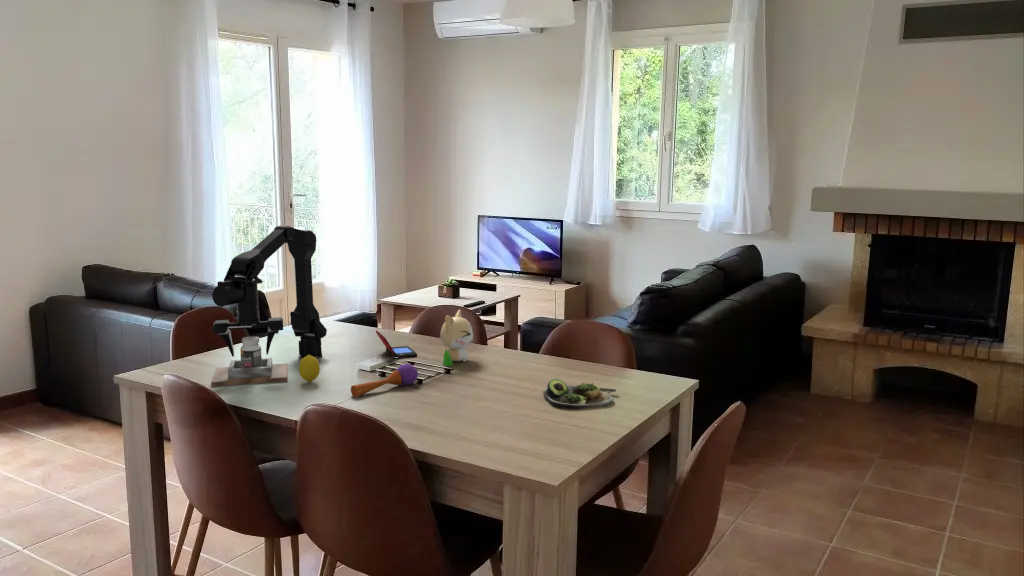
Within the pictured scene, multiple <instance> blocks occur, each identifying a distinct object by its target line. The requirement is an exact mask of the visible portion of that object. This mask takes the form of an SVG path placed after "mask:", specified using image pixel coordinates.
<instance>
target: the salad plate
mask: <svg viewBox="0 0 1024 576" xmlns="http://www.w3.org/2000/svg"><path fill="white" fill-rule="evenodd" d="M599 386H600V384H597V385H594V383H585V382H581V384H578V385H567V384H566V383H565V382H564V381H562V380H560V379H559V378H554V379H551V380H549V381H548V384H547V385H546V387H547V388H544V390H543V392H542V394H543V397H544V399H545V400H546V401H547V403H548V404H550V406H553V407H556V408H557V409H558V408H559V409H566V410H571V409H572V410H578V409H589V408H596V407H597V408H598V407H601V406H607V405H609V404H610V403H611V402H613V401H614V398H613V396H612V395H610V393H615V392H616V391H617V389H616V388H608V387H599ZM591 401H599V402H595V403H586V402H591Z"/></svg>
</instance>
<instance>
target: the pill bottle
mask: <svg viewBox="0 0 1024 576" xmlns="http://www.w3.org/2000/svg"><path fill="white" fill-rule="evenodd" d="M259 343H260V337H259V336H254V335H253V336H252V335H251V336H245V337H244V336H243V337H242V338H241V344H242V345H241V347H240V351H239V352H240V360H241V368H253V367H262V346H261V345H260V344H259Z"/></svg>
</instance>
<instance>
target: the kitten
mask: <svg viewBox="0 0 1024 576" xmlns="http://www.w3.org/2000/svg"><path fill="white" fill-rule="evenodd" d="M444 320H445V322H444V323H443V324H442V325H441V329H440V335H439V336H440V340H441V343H442V344H443V345H444V346H445V347H447V348H446V349H445V351H444V354H443V359H442V364H443V366H445V367H452V366H453V362H461V361H462V362H463V363H466V362H467V361H468V360H469V353H468V352H467V350H466V348H467V347H468V346H469V345H470V344H471V343H472V341H473V338H474V333H475V331H474V328H473V327H472V325H471V323H470V322H469V321H468V320H467V319H466V318H465V317H462V311H461V309H458V310H457V312H455V316H452V317H451V316H450V315H448V314H447V315H446V316H445V318H444Z"/></svg>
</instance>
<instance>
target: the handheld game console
mask: <svg viewBox="0 0 1024 576" xmlns="http://www.w3.org/2000/svg"><path fill="white" fill-rule="evenodd" d="M375 333H376V334H377V336H378V338H379V339H380V340H381V342H382V343H383V345H384V346H385V351H386V352H387V353H388V354H390V355H391V357H393V356H394V357H398V359H407V358H408V359H409V358H415V357H418V353H417V352H416V351H415V350H413V349H412V348H411V347H410V346H409V345H404V346H403V345H402V346H393V347H392V345H390V342H389V341H388V340H387V338H386V337H385V336H384V335H383V334H382V333H380V332H379V331H378V330H375ZM394 357H393V358H394Z"/></svg>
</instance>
